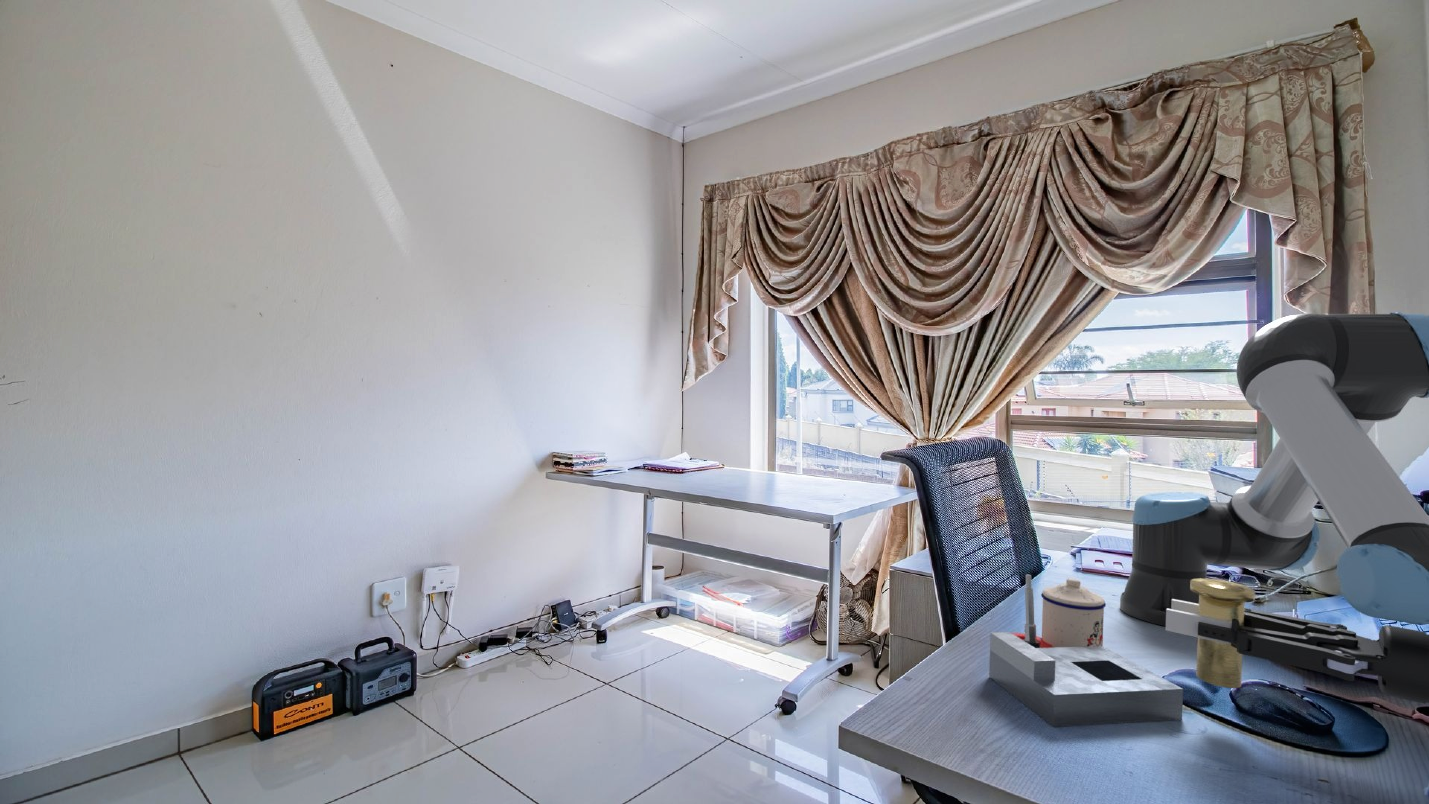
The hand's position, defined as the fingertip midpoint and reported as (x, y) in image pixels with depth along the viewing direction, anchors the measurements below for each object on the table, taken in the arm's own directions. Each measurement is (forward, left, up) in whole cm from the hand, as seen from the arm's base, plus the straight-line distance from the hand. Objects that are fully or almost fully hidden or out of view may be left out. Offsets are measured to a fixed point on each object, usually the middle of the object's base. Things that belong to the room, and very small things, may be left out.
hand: (1169, 614), depth 84 cm
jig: (+9, -4, -13) cm, 16 cm away
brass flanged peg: (-3, +4, -7) cm, 9 cm away
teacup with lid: (-2, -20, -13) cm, 24 cm away
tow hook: (+7, -20, -13) cm, 25 cm away
